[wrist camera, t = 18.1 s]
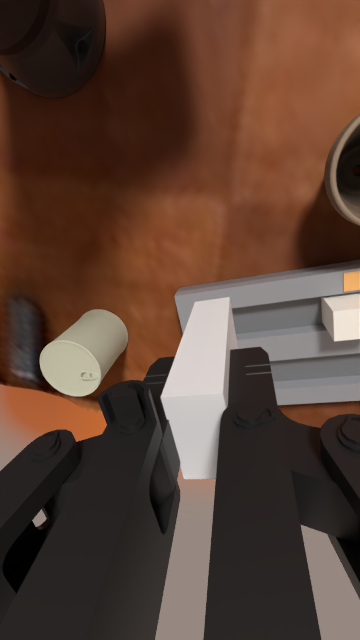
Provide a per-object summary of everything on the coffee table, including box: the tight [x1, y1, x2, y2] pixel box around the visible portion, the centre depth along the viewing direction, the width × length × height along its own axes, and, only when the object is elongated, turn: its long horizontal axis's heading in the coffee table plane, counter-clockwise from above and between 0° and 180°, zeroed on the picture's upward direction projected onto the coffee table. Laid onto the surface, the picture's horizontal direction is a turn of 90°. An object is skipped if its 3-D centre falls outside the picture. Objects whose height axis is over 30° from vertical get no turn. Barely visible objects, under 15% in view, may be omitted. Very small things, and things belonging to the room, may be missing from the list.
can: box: [40, 309, 128, 396], centre depth 47 cm, size 9×9×12 cm
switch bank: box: [174, 260, 360, 405], centre depth 45 cm, size 20×30×4 cm, turn 102°
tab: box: [321, 291, 360, 341], centre depth 39 cm, size 4×5×6 cm
